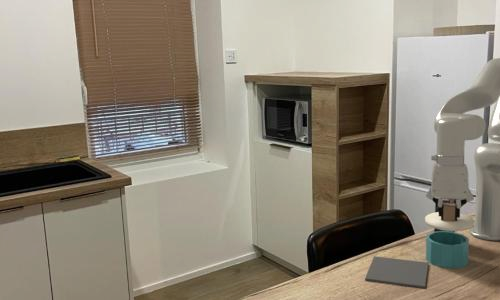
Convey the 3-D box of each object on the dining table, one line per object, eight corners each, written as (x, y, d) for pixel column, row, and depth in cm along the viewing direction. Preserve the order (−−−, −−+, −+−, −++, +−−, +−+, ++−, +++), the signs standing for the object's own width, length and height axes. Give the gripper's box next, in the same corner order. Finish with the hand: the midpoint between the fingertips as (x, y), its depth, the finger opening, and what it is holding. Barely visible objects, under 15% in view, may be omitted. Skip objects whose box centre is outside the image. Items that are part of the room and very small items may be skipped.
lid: (426, 216, 156) (426, 196, 154) (473, 219, 150) (473, 199, 149) (423, 232, 144) (423, 211, 142) (474, 236, 138) (474, 214, 137)
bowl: (427, 250, 156) (427, 229, 155) (467, 254, 152) (468, 233, 150) (424, 265, 146) (425, 243, 144) (468, 270, 141) (469, 247, 140)
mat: (374, 258, 152) (374, 256, 152) (428, 264, 146) (428, 262, 146) (365, 280, 138) (365, 278, 138) (424, 288, 132) (424, 286, 132)
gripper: (419, 162, 143) (419, 221, 147) (481, 164, 136) (479, 225, 140) (421, 156, 149) (421, 213, 153) (480, 157, 143) (478, 216, 147)
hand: (449, 218), depth 147 cm, fingers closed on lid, 3 cm apart
